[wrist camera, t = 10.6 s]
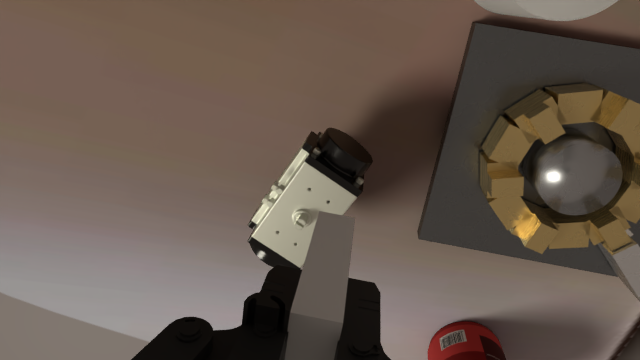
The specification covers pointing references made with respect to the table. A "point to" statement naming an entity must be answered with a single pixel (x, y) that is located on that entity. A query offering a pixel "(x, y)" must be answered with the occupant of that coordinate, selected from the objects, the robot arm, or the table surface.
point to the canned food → (465, 343)
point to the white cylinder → (547, 8)
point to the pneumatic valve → (308, 196)
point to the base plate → (541, 159)
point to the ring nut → (545, 124)
